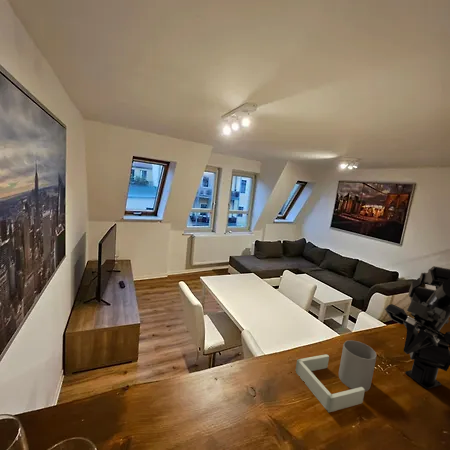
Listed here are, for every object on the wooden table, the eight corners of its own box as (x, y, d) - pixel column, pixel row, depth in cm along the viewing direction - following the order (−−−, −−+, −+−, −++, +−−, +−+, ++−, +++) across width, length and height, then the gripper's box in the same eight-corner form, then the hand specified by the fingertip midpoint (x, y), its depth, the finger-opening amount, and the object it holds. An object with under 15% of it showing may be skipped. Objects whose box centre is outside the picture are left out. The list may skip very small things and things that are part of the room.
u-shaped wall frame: (324, 365, 78) (326, 354, 77) (362, 403, 65) (364, 389, 64) (295, 371, 74) (297, 359, 74) (328, 412, 61) (331, 398, 61)
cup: (352, 393, 68) (358, 360, 66) (332, 371, 76) (337, 341, 74) (377, 389, 70) (383, 357, 69) (354, 368, 78) (360, 339, 77)
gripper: (394, 278, 74) (363, 318, 72) (476, 310, 57) (438, 363, 55) (406, 298, 79) (376, 337, 76) (484, 333, 62) (449, 384, 60)
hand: (405, 352), depth 67 cm, fingers closed
